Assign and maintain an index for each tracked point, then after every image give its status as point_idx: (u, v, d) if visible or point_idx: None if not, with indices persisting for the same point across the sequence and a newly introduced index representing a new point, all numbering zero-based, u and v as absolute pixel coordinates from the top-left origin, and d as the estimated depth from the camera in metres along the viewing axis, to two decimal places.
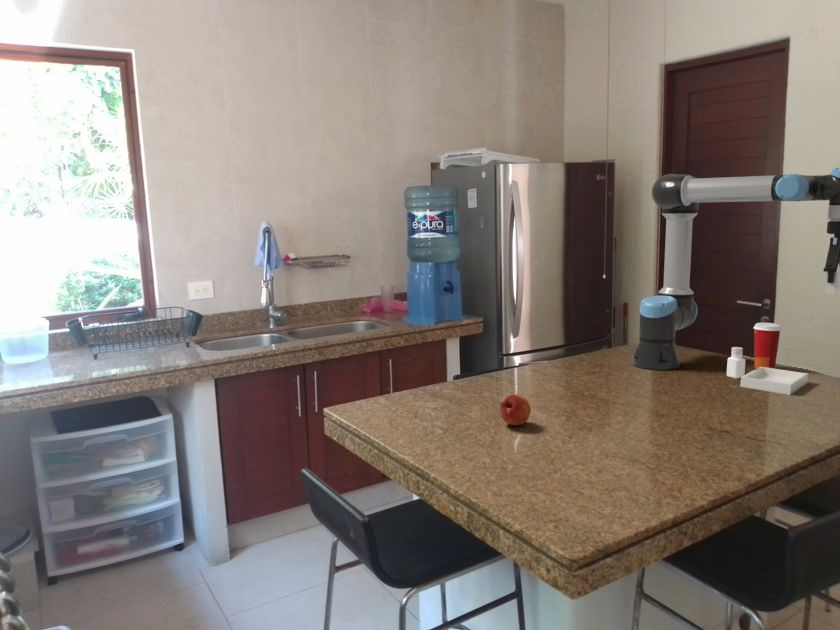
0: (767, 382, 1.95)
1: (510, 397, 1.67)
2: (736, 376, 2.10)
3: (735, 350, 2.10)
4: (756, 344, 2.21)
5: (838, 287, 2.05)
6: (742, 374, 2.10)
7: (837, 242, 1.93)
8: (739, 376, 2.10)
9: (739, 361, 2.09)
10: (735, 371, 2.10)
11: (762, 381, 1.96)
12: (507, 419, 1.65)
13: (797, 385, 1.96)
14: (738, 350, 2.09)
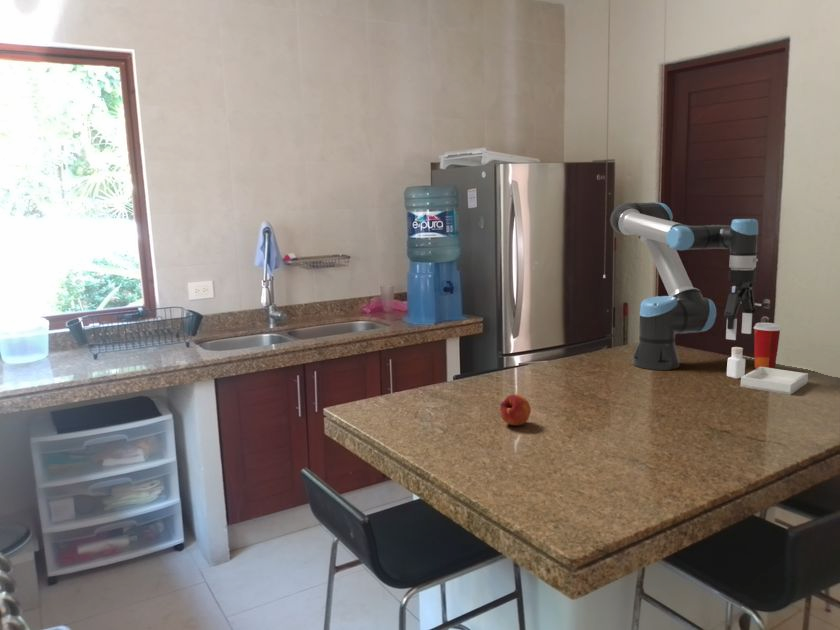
0: (767, 382, 1.95)
1: (510, 397, 1.67)
2: (736, 376, 2.10)
3: (735, 350, 2.10)
4: (756, 344, 2.21)
5: (743, 331, 2.15)
6: (742, 374, 2.10)
7: (735, 290, 2.02)
8: (739, 376, 2.10)
9: (739, 361, 2.09)
10: (735, 371, 2.10)
11: (762, 381, 1.96)
12: (507, 419, 1.65)
13: (797, 385, 1.96)
14: (738, 350, 2.09)
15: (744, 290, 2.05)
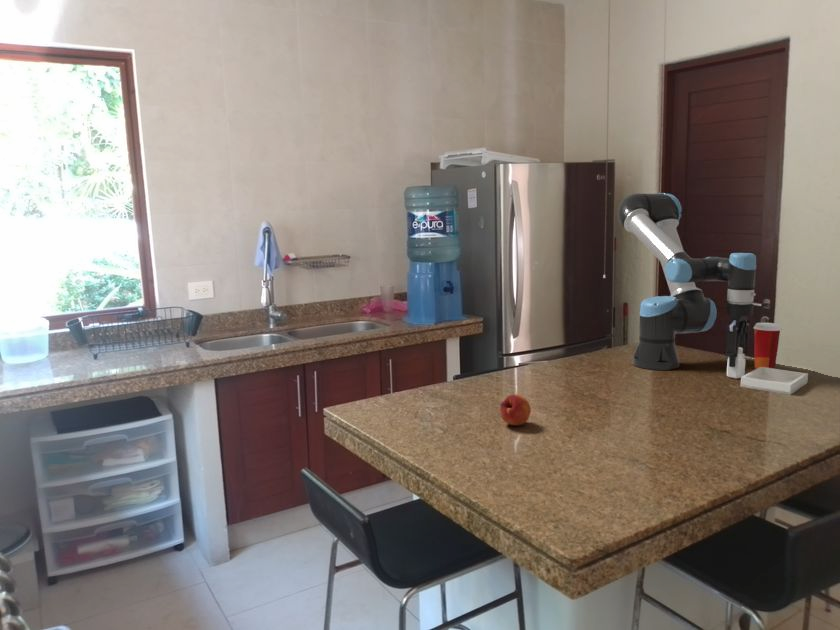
0: (767, 382, 1.95)
1: (510, 397, 1.67)
2: None
3: None
4: (756, 344, 2.21)
5: None
6: (742, 374, 2.10)
7: (733, 330, 2.05)
8: (739, 376, 2.10)
9: (739, 361, 2.09)
10: None
11: (762, 381, 1.96)
12: (507, 419, 1.65)
13: (797, 385, 1.96)
14: (738, 350, 2.09)
15: (741, 325, 2.07)
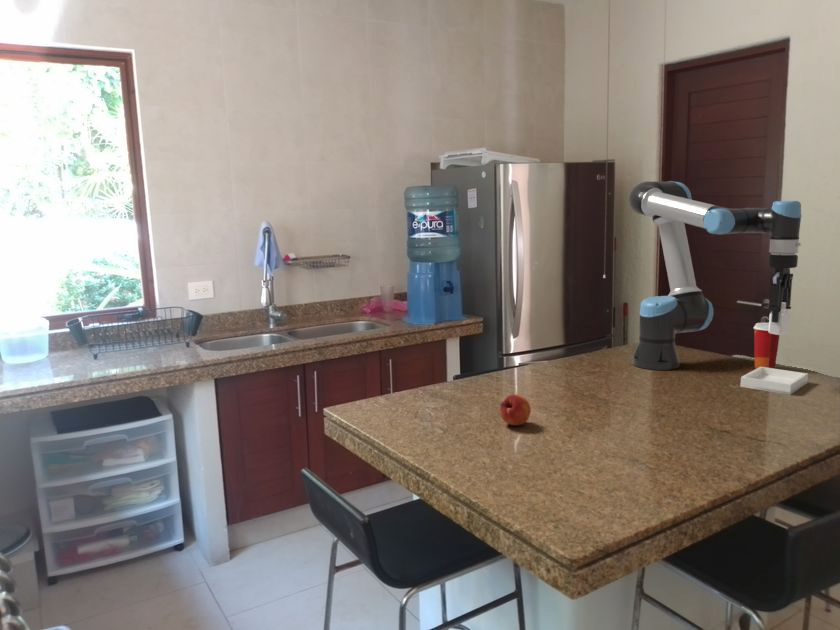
0: (767, 382, 1.95)
1: (510, 397, 1.67)
2: (780, 332, 1.98)
3: None
4: (756, 344, 2.21)
5: None
6: (785, 330, 1.98)
7: (777, 282, 1.93)
8: (782, 332, 1.98)
9: (783, 316, 1.97)
10: None
11: (762, 381, 1.96)
12: (507, 419, 1.65)
13: (797, 385, 1.96)
14: None
15: (785, 277, 1.95)
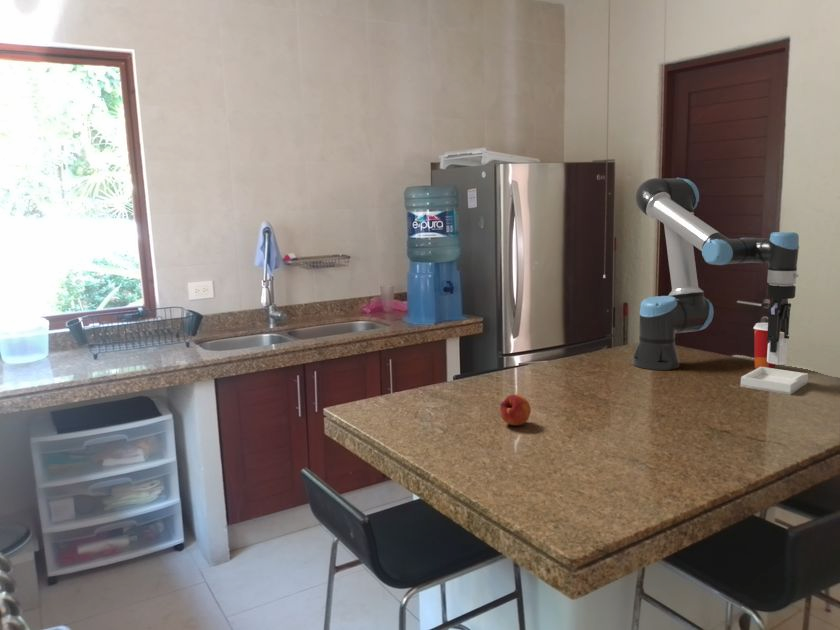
0: (767, 382, 1.95)
1: (510, 397, 1.67)
2: None
3: None
4: (756, 344, 2.21)
5: None
6: (784, 360, 2.00)
7: (775, 313, 1.94)
8: (781, 362, 1.99)
9: (781, 346, 1.98)
10: None
11: (762, 381, 1.96)
12: (507, 419, 1.65)
13: (797, 385, 1.96)
14: (780, 334, 1.98)
15: (783, 308, 1.96)
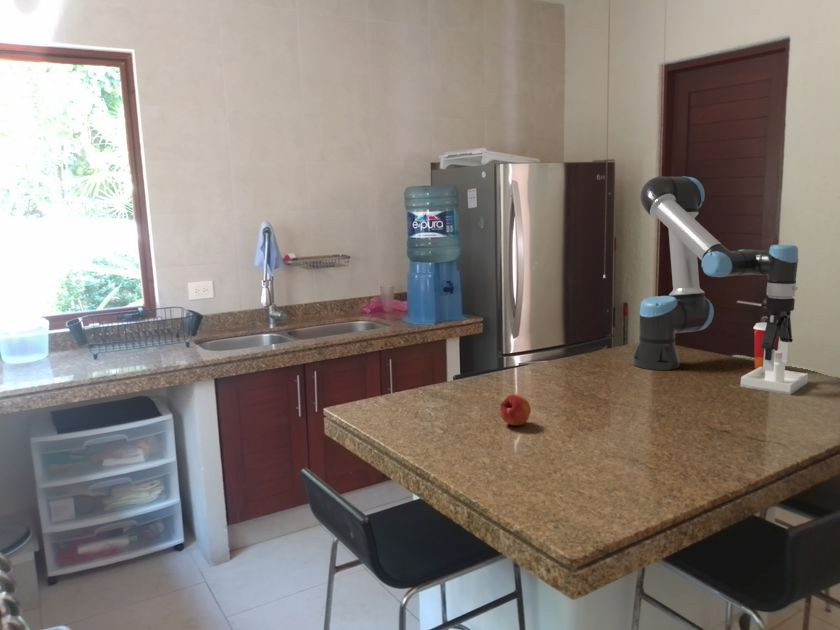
0: (767, 382, 1.95)
1: (510, 397, 1.67)
2: (776, 381, 2.00)
3: None
4: (756, 344, 2.21)
5: None
6: (782, 379, 2.01)
7: (774, 320, 1.94)
8: (779, 381, 2.00)
9: (779, 365, 1.99)
10: (774, 376, 2.00)
11: (762, 381, 1.96)
12: (507, 419, 1.65)
13: (797, 385, 1.96)
14: (778, 354, 1.99)
15: (782, 319, 1.97)
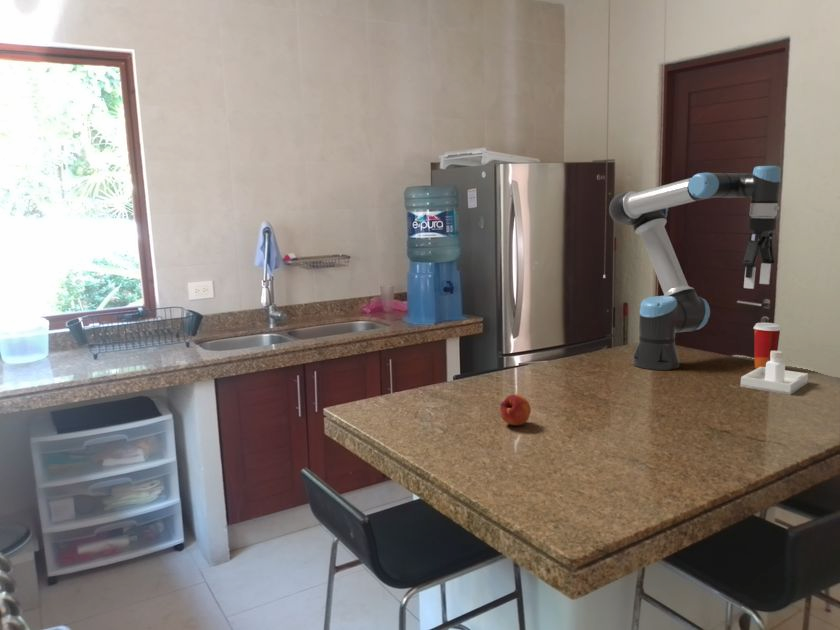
0: (767, 382, 1.95)
1: (510, 397, 1.67)
2: (776, 381, 2.00)
3: (774, 354, 2.00)
4: (756, 344, 2.21)
5: (761, 281, 2.13)
6: (782, 379, 2.01)
7: (755, 238, 2.00)
8: (779, 381, 2.00)
9: (779, 365, 1.99)
10: (774, 376, 2.00)
11: (762, 381, 1.96)
12: (507, 419, 1.65)
13: (797, 385, 1.96)
14: (778, 354, 1.99)
15: (764, 239, 2.03)
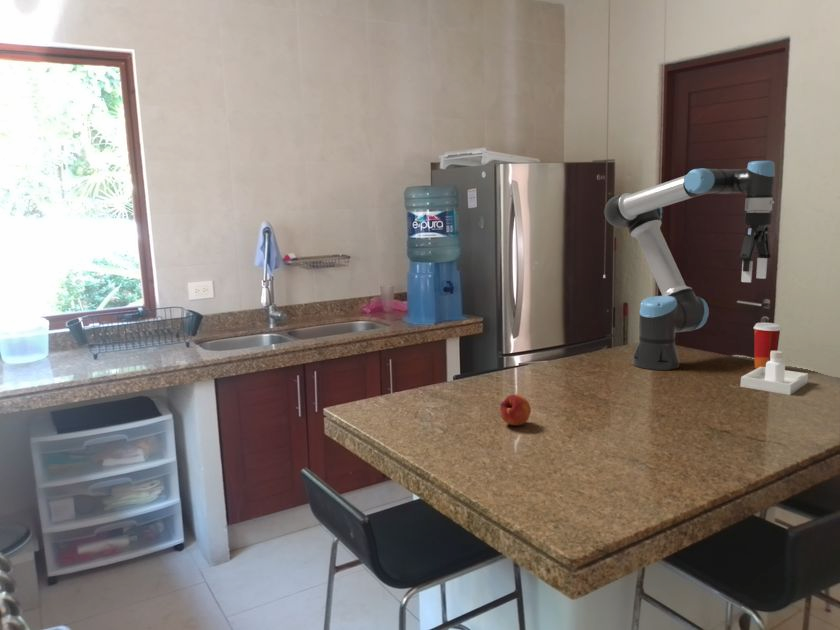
0: (767, 382, 1.95)
1: (510, 397, 1.67)
2: (776, 381, 2.00)
3: (774, 354, 2.00)
4: (756, 344, 2.21)
5: (757, 276, 2.15)
6: (782, 379, 2.01)
7: (751, 232, 2.02)
8: (779, 381, 2.00)
9: (779, 365, 1.99)
10: (774, 376, 2.00)
11: (762, 381, 1.96)
12: (507, 419, 1.65)
13: (797, 385, 1.96)
14: (778, 354, 1.99)
15: (760, 233, 2.05)
